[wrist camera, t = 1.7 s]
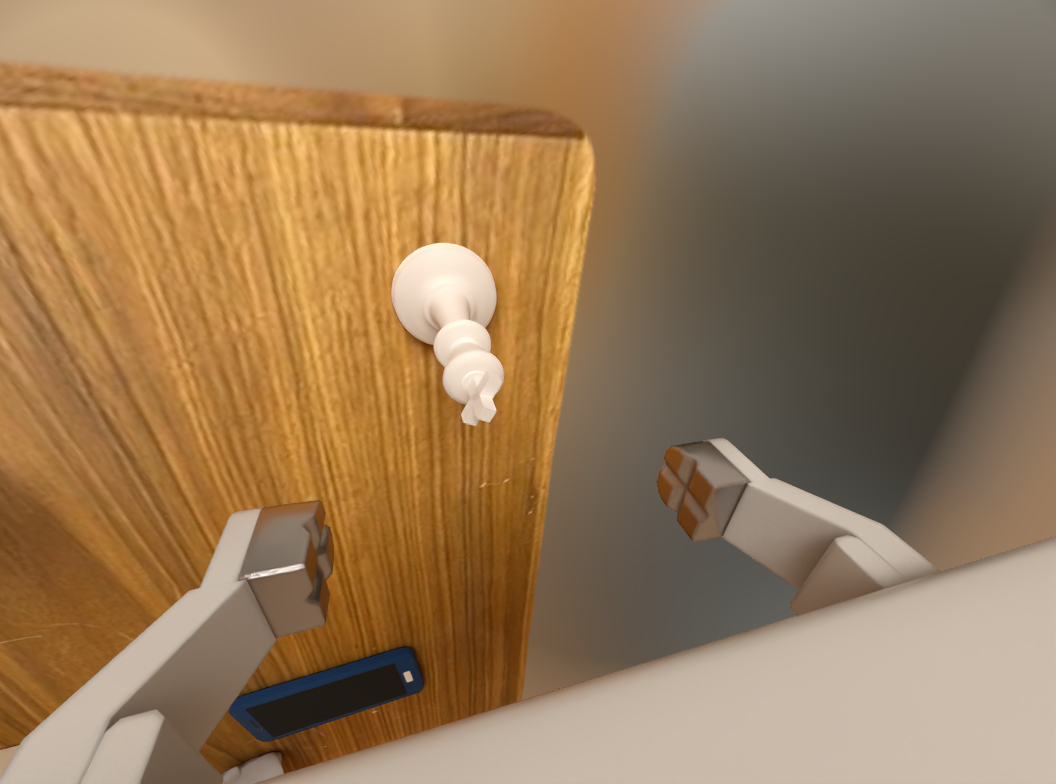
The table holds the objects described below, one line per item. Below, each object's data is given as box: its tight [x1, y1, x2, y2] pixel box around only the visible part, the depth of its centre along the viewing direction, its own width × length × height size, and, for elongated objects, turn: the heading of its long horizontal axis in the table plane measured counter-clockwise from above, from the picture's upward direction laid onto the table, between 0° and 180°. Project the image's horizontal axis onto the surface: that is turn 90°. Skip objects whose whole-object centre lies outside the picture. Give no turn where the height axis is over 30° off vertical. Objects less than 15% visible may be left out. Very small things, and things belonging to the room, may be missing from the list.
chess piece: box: [391, 243, 504, 426], centre depth 16 cm, size 5×5×10 cm
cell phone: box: [229, 647, 424, 742], centre depth 35 cm, size 7×14×1 cm, turn 91°
